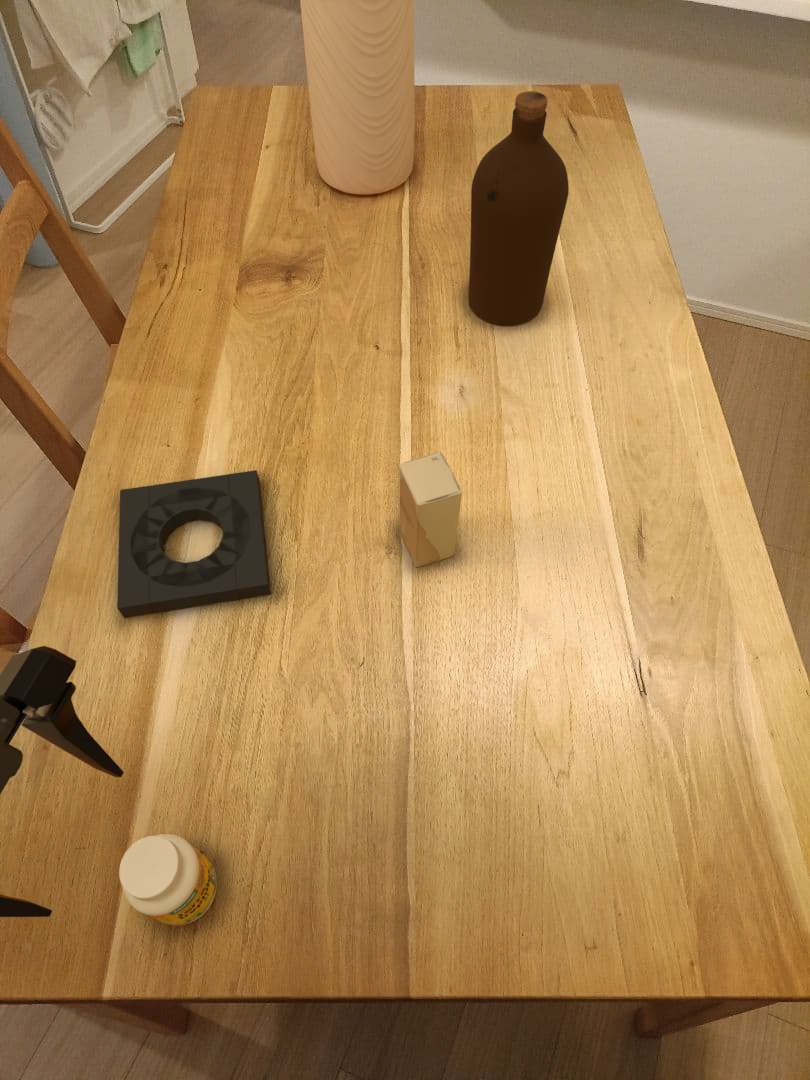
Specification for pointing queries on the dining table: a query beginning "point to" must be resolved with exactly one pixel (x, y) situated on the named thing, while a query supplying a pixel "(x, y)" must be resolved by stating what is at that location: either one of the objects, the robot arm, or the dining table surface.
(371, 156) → the vase
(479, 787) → the dining table surface
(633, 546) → the dining table surface
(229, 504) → the socket pad
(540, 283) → the olive oil
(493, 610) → the dining table surface
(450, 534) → the box
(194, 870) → the supplement bottle
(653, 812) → the dining table surface
